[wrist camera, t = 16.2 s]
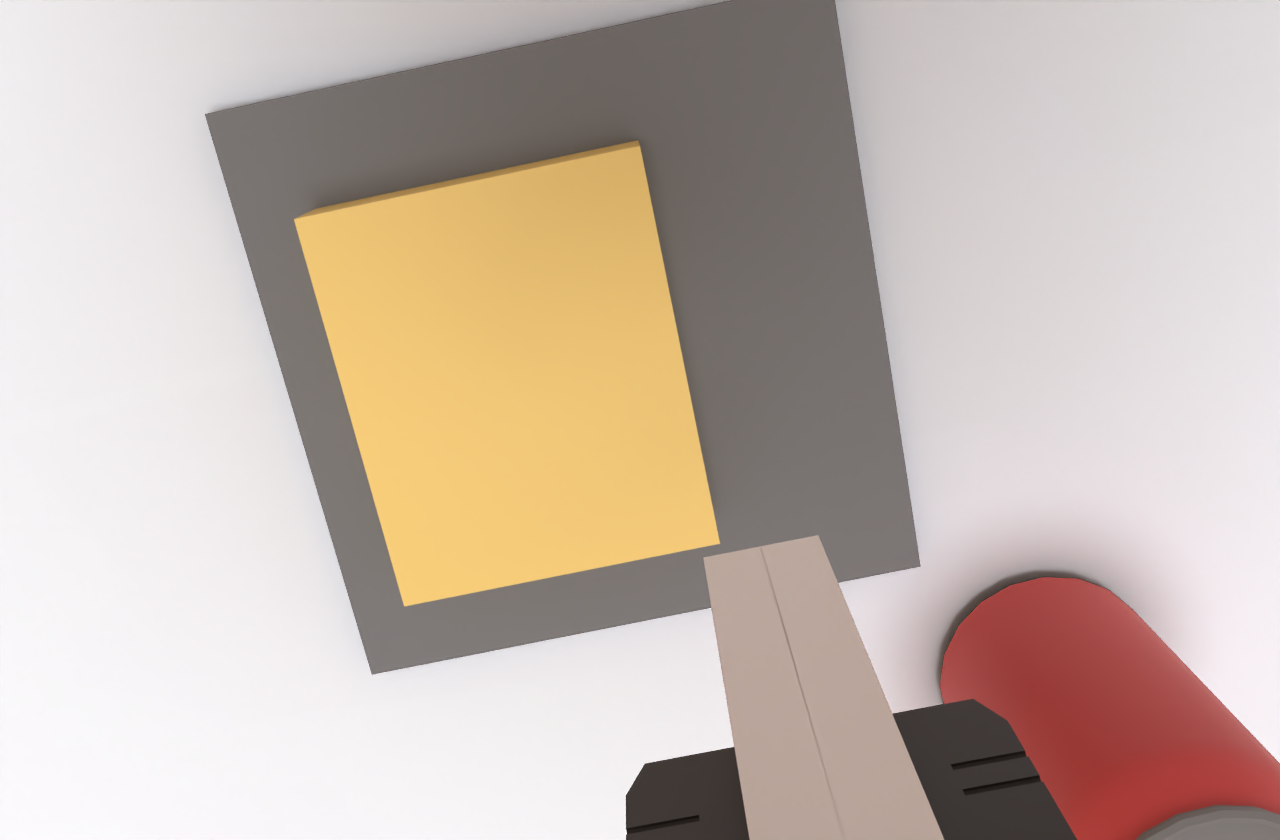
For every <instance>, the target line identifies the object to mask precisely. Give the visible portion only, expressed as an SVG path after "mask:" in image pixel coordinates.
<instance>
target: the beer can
mask: <svg viewBox="0 0 1280 840" xmlns="http://www.w3.org/2000/svg"><path fill="white" fill-rule="evenodd" d="M940 689H941V693H942V698H943V702H944V704H947V703H952V702H958V701H963V700H968V699H974V700H976V701H978V702H979V703H981V704H982V705H984V706H985V707H987V708H989V709H990V710H992V711H993V712H995V713H996V714H998V715H1000V716H1001V717H1003V718H1004V719H1006V720H1007V721H1008V722H1009V724H1010V725H1011V727H1012V729H1013V731H1014V732H1015V734H1016V736H1017V737H1018V739H1019V741H1020V743H1021V744H1022V746H1023V748H1024V749H1025V752H1026V756H1027V757H1028V756H1029V758H1030V760H1031V761H1032V763H1033V765H1034V767H1035V768H1036V770H1037V772H1038V773H1039V775H1040V779H1041V782H1044V784H1045V785H1046V787H1047V789H1048V790H1049V792H1050V794H1051V796H1052V797H1053V799H1054V801H1055V802H1056V804H1057V806H1058V808H1059V809H1060V811H1061V813H1062V814H1063V816H1064V818H1065V820H1066V821H1067V823H1068V825H1069V826H1070V828H1071V830H1072V832H1073V833H1074V835H1075V837H1076V838H1077V840H1280V763H1279V762H1278V761H1277V760H1276V759H1275V758H1274V757H1273V756H1272V755H1271V754H1270V753H1269V752H1268V751H1267V750H1266V749H1265V748H1264V746H1263V745H1262V744H1261V743H1260V742H1259V741H1258V740H1257V739H1256V738H1255V737H1254V736H1253V735H1252V734H1251V733H1250V732H1249V731H1248V730H1247V729H1246V728H1245V727H1244V726H1243V724H1242V723H1241V722H1240V721H1239V720H1238V719H1237V718H1236V717H1235V716H1234V715H1233V714H1232V713H1231V712H1230V711H1229V710H1228V709H1227V708H1226V707H1225V706H1224V705H1223V704H1222V702H1221V701H1220V700H1219V699H1218V698H1217V697H1216V696H1215V695H1214V694H1213V693H1212V692H1211V691H1210V690H1209V689H1208V688H1207V687H1206V686H1205V685H1204V684H1203V683H1202V682H1201V680H1200V679H1199V678H1198V677H1197V676H1196V675H1195V674H1194V673H1193V672H1192V671H1191V670H1190V669H1189V668H1188V667H1187V666H1186V665H1185V664H1184V663H1183V662H1182V661H1181V660H1180V658H1179V657H1178V656H1177V655H1176V654H1175V653H1174V652H1173V651H1172V650H1171V649H1170V648H1169V647H1168V646H1167V645H1166V644H1165V643H1164V642H1163V641H1162V640H1161V639H1160V638H1159V636H1158V635H1157V634H1156V633H1155V632H1154V631H1153V630H1152V629H1151V628H1150V627H1149V626H1148V625H1147V624H1146V623H1145V622H1144V621H1143V620H1142V619H1141V618H1140V617H1139V616H1138V614H1137V613H1136V612H1135V611H1134V610H1133V609H1132V608H1130V607H1129V606H1128V605H1127V604H1126V603H1124V602H1123V601H1122V600H1121V599H1119V598H1118V597H1117V596H1116V595H1115V594H1113V593H1112V592H1111V591H1110V590H1108V589H1105V588H1103V587H1100V586H1097V585H1095V584H1092V583H1089V582H1086V581H1084V580H1081V579H1075V578H1052V577H1041V578H1037V579H1033V580H1029V581H1025V582H1021V583H1017V584H1013V585H1010V586H1008V587H1006V588H1004V589H1003V590H1001V591H999V592H998V593H996V594H994V595H992V596H991V597H989V598H987V599H985V600H984V601H982V602H981V603H980V604H979V605H978V606H977V607H976V608H975V609H974V610H973V611H972V612H971V613H970V614H969V615H968V616H967V617H966V618H965V619H964V620H963V621H962V623H961V624H960V625H959V626H958V628H957V630H956V632H955V634H954V636H953V638H952V640H951V642H950V644H949V646H948V648H947V650H946V652H945V654H944V659H943V667H942V674H941V681H940Z"/></svg>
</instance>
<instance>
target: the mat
mask: <svg viewBox="0 0 1280 840" xmlns="http://www.w3.org/2000/svg"><path fill="white" fill-rule="evenodd" d="M205 116H206V119H207V123H208V126H209V130H210V133H211V136H212V140H213V143H214V146H215V150H216V153H217V156H218V160H219V163H220V166H221V170H222V173H223V176H224V180H225V183H226V187H227V190H228V193H229V197H230V200H231V203H232V207H233V210H234V213H235V217H236V220H237V223H238V227H239V230H240V233H241V237H242V240H243V244H244V247H245V250H246V254H247V257H248V260H249V264H250V267H251V270H252V274H253V277H254V280H255V284H256V287H257V290H258V294H259V297H260V301H261V304H262V307H263V311H264V314H265V317H266V321H267V324H268V327H269V331H270V334H271V337H272V341H273V344H274V347H275V351H276V354H277V358H278V361H279V364H280V368H281V371H282V374H283V378H284V381H285V384H286V388H287V391H288V394H289V398H290V401H291V404H292V408H293V411H294V415H295V418H296V421H297V425H298V428H299V431H300V435H301V438H302V441H303V445H304V448H305V451H306V455H307V458H308V461H309V465H310V468H311V472H312V475H313V478H314V482H315V485H316V488H317V492H318V495H319V498H320V502H321V505H322V508H323V512H324V515H325V518H326V522H327V525H328V529H329V532H330V535H331V539H332V542H333V545H334V549H335V552H336V555H337V559H338V562H339V565H340V569H341V572H342V575H343V579H344V582H345V586H346V589H347V592H348V596H349V599H350V602H351V606H352V609H353V612H354V616H355V619H356V622H357V626H358V629H359V632H360V636H361V639H362V643H363V646H364V649H365V653H366V656H367V659H368V663H369V666H370V669H371V673H372V674H377V673H382V672H387V671H392V670H397V669H403V668H408V667H413V666H418V665H423V664H428V663H433V662H438V661H443V660H448V659H453V658H458V657H463V656H468V655H474V654H479V653H484V652H489V651H494V650H499V649H504V648H509V647H514V646H519V645H524V644H529V643H534V642H539V641H545V640H550V639H555V638H560V637H565V636H570V635H575V634H580V633H585V632H590V631H595V630H600V629H605V628H610V627H616V626H621V625H626V624H631V623H636V622H641V621H646V620H651V619H656V618H661V617H666V616H671V615H676V614H681V613H686V612H692V611H697V610H702V609H707V608H711V602H710V596H709V589H708V583H707V577H706V571H705V565H704V559H703V558H704V557H709V556H714V555H719V554H724V553H729V552H734V551H739V550H745V549H750V548H755V547H760V546H765V545H770V544H775V543H781V542H786V541H791V540H796V539H801V538H806V537H811V536H816V535H818V536H819V538H820V541H821V543H822V545H823V548H824V550H825V553H826V555H827V558H828V560H829V562H830V565H831V567H832V570H833V572H834V574H835V577H836V579H837V582H838V583H839V582H844V581H849V580H854V579H859V578H864V577H869V576H874V575H879V574H884V573H889V572H894V571H899V570H905V569H910V568H915V567H920V560H919V553H918V546H917V540H916V533H915V527H914V520H913V514H912V507H911V500H910V494H909V487H908V481H907V474H906V467H905V461H904V454H903V448H902V441H901V434H900V428H899V421H898V415H897V408H896V401H895V395H894V388H893V382H892V375H891V368H890V362H889V355H888V349H887V342H886V336H885V329H884V322H883V316H882V309H881V303H880V296H879V289H878V283H877V276H876V270H875V263H874V256H873V250H872V243H871V237H870V230H869V223H868V217H867V210H866V204H865V197H864V190H863V184H862V177H861V171H860V164H859V158H858V151H857V144H856V138H855V131H854V125H853V118H852V111H851V105H850V98H849V92H848V85H847V78H846V72H845V65H844V59H843V52H842V45H841V39H840V32H839V26H838V19H837V12H836V6H835V0H732V1H727V2H723V3H718V4H714V5H709V6H704V7H700V8H695V9H690V10H686V11H681V12H676V13H672V14H667V15H663V16H658V17H653V18H649V19H644V20H639V21H635V22H630V23H625V24H621V25H616V26H612V27H607V28H602V29H598V30H593V31H588V32H584V33H579V34H574V35H570V36H565V37H561V38H556V39H551V40H547V41H542V42H537V43H533V44H528V45H523V46H519V47H514V48H510V49H505V50H500V51H496V52H491V53H486V54H482V55H477V56H473V57H468V58H463V59H459V60H454V61H449V62H445V63H440V64H435V65H431V66H426V67H422V68H417V69H412V70H408V71H403V72H398V73H394V74H389V75H384V76H380V77H375V78H371V79H366V80H361V81H357V82H352V83H347V84H343V85H338V86H333V87H329V88H324V89H320V90H315V91H310V92H306V93H301V94H296V95H292V96H287V97H282V98H278V99H273V100H269V101H264V102H259V103H255V104H250V105H245V106H241V107H236V108H231V109H227V110H222V111H218V112H213V113H208V114H205ZM637 140H638V141H639V144H640V148H641V153H642V158H643V163H644V168H645V173H646V178H647V183H648V188H649V193H650V198H651V203H652V208H653V213H654V218H655V223H656V228H657V233H658V238H659V243H660V248H661V253H662V258H663V263H664V268H665V273H666V278H667V282H668V287H669V292H670V297H671V302H672V307H673V312H674V317H675V322H676V327H677V332H678V337H679V342H680V347H681V352H682V357H683V362H684V367H685V372H686V377H687V382H688V387H689V392H690V397H691V402H692V407H693V412H694V417H695V422H696V427H697V432H698V437H699V442H700V447H701V452H702V457H703V461H704V466H705V471H706V476H707V481H708V486H709V491H710V496H711V501H712V506H713V511H714V516H715V521H716V526H717V531H718V536H719V541H720V544H716V545H711V546H706V547H701V548H696V549H691V550H686V551H681V552H676V553H671V554H666V555H660V556H655V557H650V558H645V559H640V560H635V561H630V562H625V563H620V564H615V565H610V566H605V567H600V568H595V569H590V570H585V571H580V572H575V573H570V574H565V575H560V576H555V577H550V578H545V579H540V580H535V581H530V582H525V583H520V584H515V585H510V586H505V587H500V588H495V589H490V590H485V591H480V592H475V593H470V594H465V595H460V596H455V597H450V598H445V599H440V600H435V601H430V602H424V603H419V604H414V605H409V606H404V604H403V601H402V597H401V594H400V590H399V587H398V583H397V580H396V576H395V573H394V569H393V566H392V562H391V558H390V555H389V551H388V548H387V544H386V541H385V537H384V534H383V530H382V527H381V523H380V520H379V516H378V513H377V509H376V506H375V502H374V499H373V495H372V492H371V488H370V485H369V481H368V478H367V474H366V471H365V467H364V464H363V460H362V457H361V453H360V450H359V446H358V443H357V439H356V436H355V432H354V429H353V425H352V422H351V418H350V415H349V411H348V408H347V404H346V401H345V397H344V394H343V390H342V386H341V383H340V379H339V376H338V372H337V369H336V365H335V362H334V358H333V355H332V351H331V348H330V344H329V341H328V337H327V334H326V330H325V327H324V323H323V320H322V316H321V313H320V309H319V306H318V302H317V299H316V295H315V292H314V288H313V285H312V281H311V278H310V274H309V271H308V267H307V264H306V260H305V257H304V253H303V250H302V246H301V243H300V239H299V236H298V232H297V229H296V225H295V222H294V219H295V218H297V217H299V216H302V215H304V214H306V213H308V212H310V211H312V210H314V209H316V208H321V207H326V206H330V205H335V204H340V203H344V202H349V201H354V200H359V199H363V198H368V197H373V196H377V195H382V194H387V193H392V192H396V191H401V190H406V189H410V188H415V187H420V186H425V185H429V184H434V183H439V182H443V181H448V180H453V179H458V178H462V177H467V176H472V175H476V174H481V173H486V172H491V171H495V170H500V169H505V168H509V167H514V166H519V165H524V164H528V163H533V162H538V161H542V160H547V159H552V158H557V157H561V156H566V155H571V154H575V153H580V152H585V151H590V150H594V149H599V148H604V147H608V146H613V145H618V144H623V143H627V142H632V141H637Z"/></svg>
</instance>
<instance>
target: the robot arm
mask: <svg viewBox="0 0 1280 840" xmlns="http://www.w3.org/2000/svg"><path fill="white" fill-rule="evenodd" d="M703 559H704V565H705V571H706V577H707V583H708V589H709V596H710V602H711V608H712V614H713V620H714V626H715V632H716V638H717V644H718V650H719V656H720V662H721V668H722V675H723V681H724V687H725V693H726V699H727V705H728V711H729V717H730V723H731V729H732V735H733V741H734V747H732V748H726V749H721V750H716V751H710V752H705V753H700V754H694V755H689V756H684V757H678V758H673V759H668V760H662V761H657V762H652V763H646V764H644V766H643V768H642V770H641V771H640V773H639V775H638V776H637V778H636V780H635V781H634V783H633V785H632V786H631V788H630V790H629V791H628V793H627V795H626V830H627V835H626V840H1077V838H1076V837H1075V835H1074V833H1073V832H1072V830H1071V828H1070V826H1069V825H1068V823H1067V821H1066V820H1065V818H1064V816H1063V814H1062V813H1061V811H1060V809H1059V808H1058V806H1057V804H1056V802H1055V801H1054V799H1053V797H1052V796H1051V794H1050V792H1049V790H1048V789H1047V787H1046V785H1045V784H1044V782H1041V779H1040V775H1039V773H1038V772H1037V770H1036V768H1035V767H1034V765H1033V763H1032V761H1031V760H1030V758H1029V756H1028V757H1027V756H1026V752H1025V749H1024V748H1023V746H1022V744H1021V743H1020V741H1019V739H1018V737H1017V736H1016V734H1015V732H1014V731H1013V729H1012V727H1011V725H1010V724H1009V722H1008V721H1007V720H1006V719H1004V718H1003V717H1001V716H1000V715H998V714H996V713H995V712H993V711H992V710H990V709H989V708H987V707H985V706H984V705H982V704H981V703H979V702H978V701H976V700H974V699H968V700H963V701H958V702H952V703H947V704H942V705H937V706H931V707H926V708H921V709H915V710H910V711H905V712H899V713H894V714H892V712H891V710H890V707H889V705H888V702H887V700H886V698H885V695H884V693H883V690H882V688H881V686H880V683H879V681H878V678H877V676H876V673H875V671H874V669H873V666H872V664H871V661H870V659H869V657H868V654H867V652H866V649H865V647H864V645H863V642H862V640H861V637H860V635H859V632H858V630H857V628H856V625H855V623H854V620H853V618H852V616H851V613H850V611H849V608H848V606H847V603H846V601H845V599H844V596H843V594H842V591H841V589H840V587H839V584H838V582H837V579H836V577H835V574H834V572H833V570H832V567H831V565H830V562H829V560H828V558H827V555H826V553H825V550H824V548H823V545H822V543H821V541H820V538H819V536H818V535H816V536H811V537H806V538H801V539H796V540H791V541H786V542H781V543H775V544H770V545H765V546H760V547H755V548H750V549H745V550H739V551H734V552H729V553H724V554H719V555H714V556H709V557H704V558H703Z"/></svg>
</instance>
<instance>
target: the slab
mask: <svg viewBox="0 0 1280 840" xmlns="http://www.w3.org/2000/svg"><path fill="white" fill-rule="evenodd" d="M294 222H295V225H296V229H297V232H298V236H299V239H300V243H301V246H302V250H303V253H304V257H305V260H306V264H307V267H308V271H309V274H310V278H311V281H312V285H313V288H314V292H315V295H316V299H317V302H318V306H319V309H320V313H321V316H322V320H323V323H324V327H325V330H326V334H327V337H328V341H329V344H330V348H331V351H332V355H333V358H334V362H335V365H336V369H337V372H338V376H339V379H340V383H341V386H342V390H343V394H344V397H345V401H346V404H347V408H348V411H349V415H350V418H351V422H352V425H353V429H354V432H355V436H356V439H357V443H358V446H359V450H360V453H361V457H362V460H363V464H364V467H365V471H366V474H367V478H368V481H369V485H370V488H371V492H372V495H373V499H374V502H375V506H376V509H377V513H378V516H379V520H380V523H381V527H382V530H383V534H384V537H385V541H386V544H387V548H388V551H389V555H390V558H391V562H392V566H393V569H394V573H395V576H396V580H397V583H398V587H399V590H400V594H401V597H402V601H403V604H404V606H409V605H414V604H419V603H424V602H430V601H435V600H440V599H445V598H450V597H455V596H460V595H465V594H470V593H475V592H480V591H485V590H490V589H495V588H500V587H505V586H510V585H515V584H520V583H525V582H530V581H535V580H540V579H545V578H550V577H555V576H560V575H565V574H570V573H575V572H580V571H585V570H590V569H595V568H600V567H605V566H610V565H615V564H620V563H625V562H630V561H635V560H640V559H645V558H650V557H655V556H660V555H666V554H671V553H676V552H681V551H686V550H691V549H696V548H701V547H706V546H711V545H716V544H720V541H719V536H718V531H717V526H716V521H715V516H714V511H713V506H712V501H711V496H710V491H709V486H708V481H707V476H706V471H705V466H704V461H703V457H702V452H701V447H700V442H699V437H698V432H697V427H696V422H695V417H694V412H693V407H692V402H691V397H690V392H689V387H688V382H687V377H686V372H685V367H684V362H683V357H682V352H681V347H680V342H679V337H678V332H677V327H676V322H675V317H674V312H673V307H672V302H671V297H670V292H669V287H668V282H667V278H666V273H665V268H664V263H663V258H662V253H661V248H660V243H659V238H658V233H657V228H656V223H655V218H654V213H653V208H652V203H651V198H650V193H649V188H648V183H647V178H646V173H645V168H644V163H643V158H642V153H641V148H640V144H639V141H638V140H637V141H632V142H627V143H623V144H618V145H613V146H608V147H604V148H599V149H594V150H590V151H585V152H580V153H575V154H571V155H566V156H561V157H557V158H552V159H547V160H542V161H538V162H533V163H528V164H524V165H519V166H514V167H509V168H505V169H500V170H495V171H491V172H486V173H481V174H476V175H472V176H467V177H462V178H458V179H453V180H448V181H443V182H439V183H434V184H429V185H425V186H420V187H415V188H410V189H406V190H401V191H396V192H392V193H387V194H382V195H377V196H373V197H368V198H363V199H359V200H354V201H349V202H344V203H340V204H335V205H330V206H326V207H321V208H316V209H314V210H312V211H310V212H308V213H306V214H304V215H302V216H299V217H297V218H295V219H294Z"/></svg>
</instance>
